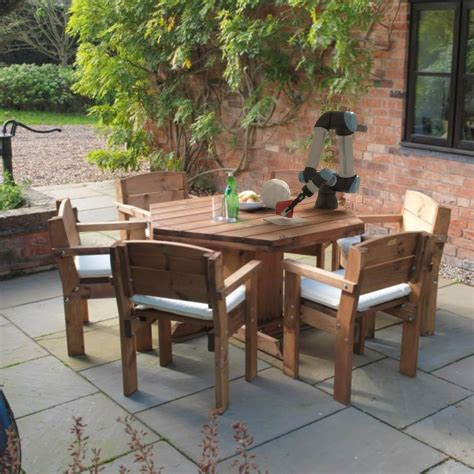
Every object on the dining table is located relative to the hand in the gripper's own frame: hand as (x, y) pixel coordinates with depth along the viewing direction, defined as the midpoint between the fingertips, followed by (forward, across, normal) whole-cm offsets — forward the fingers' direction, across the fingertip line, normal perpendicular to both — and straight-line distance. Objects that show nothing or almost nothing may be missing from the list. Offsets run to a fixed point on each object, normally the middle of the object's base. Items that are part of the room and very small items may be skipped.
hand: (283, 213), depth 435 cm
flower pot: (+1, 0, -5) cm, 5 cm away
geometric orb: (+11, -32, -4) cm, 34 cm away
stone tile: (+2, 0, +4) cm, 5 cm away
